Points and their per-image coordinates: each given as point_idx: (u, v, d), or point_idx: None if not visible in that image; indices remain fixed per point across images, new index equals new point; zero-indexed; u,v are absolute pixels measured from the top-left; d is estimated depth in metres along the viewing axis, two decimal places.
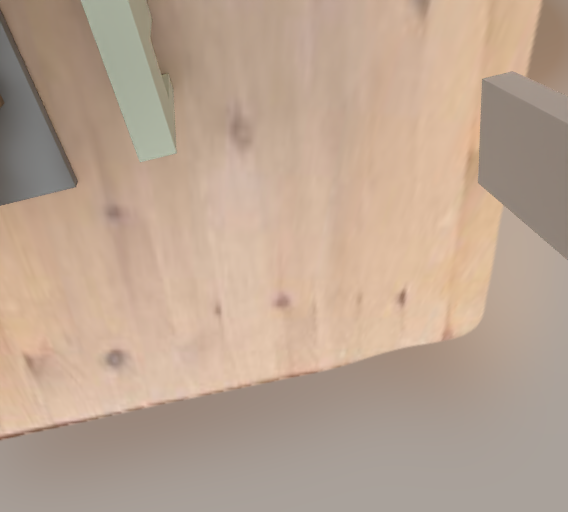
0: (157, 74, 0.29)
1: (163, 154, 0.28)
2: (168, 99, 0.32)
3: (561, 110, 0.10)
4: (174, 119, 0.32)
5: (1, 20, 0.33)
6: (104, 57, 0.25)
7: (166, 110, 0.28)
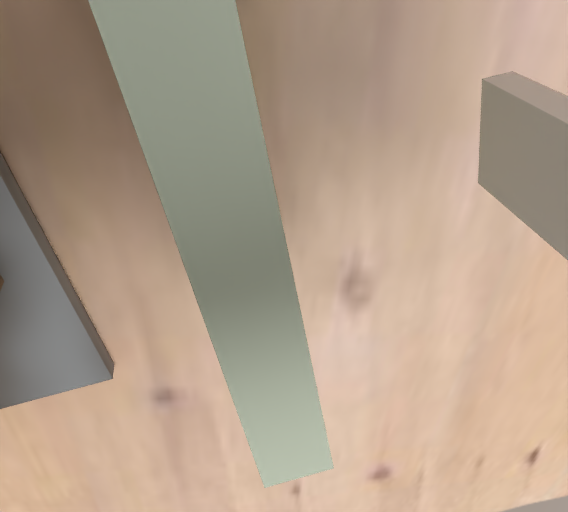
0: None
1: (309, 472, 0.15)
2: None
3: (561, 110, 0.10)
4: None
5: None
6: (222, 352, 0.11)
7: None
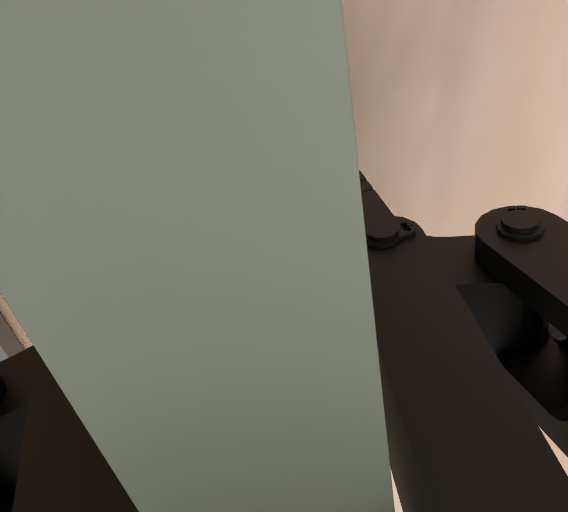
0: None
1: None
2: None
3: None
4: None
5: None
6: None
7: None
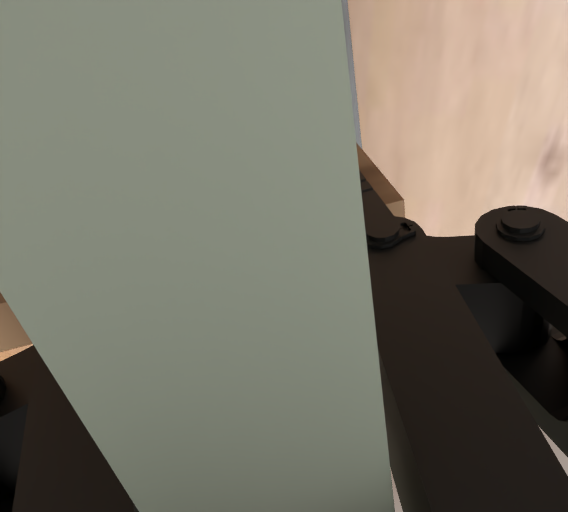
0: None
1: None
2: None
3: None
4: None
5: None
6: None
7: None
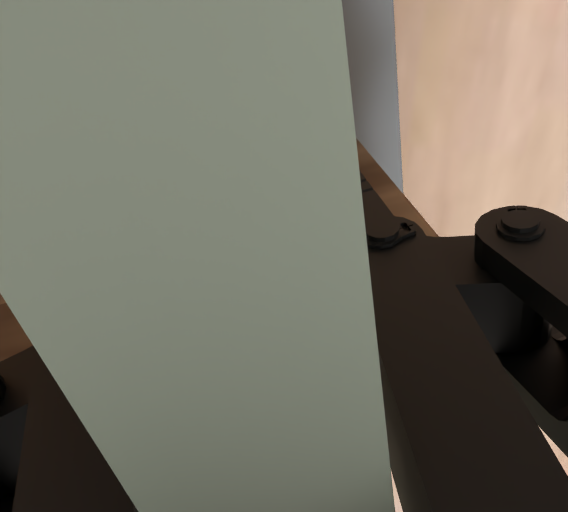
0: None
1: None
2: None
3: None
4: None
5: None
6: None
7: None
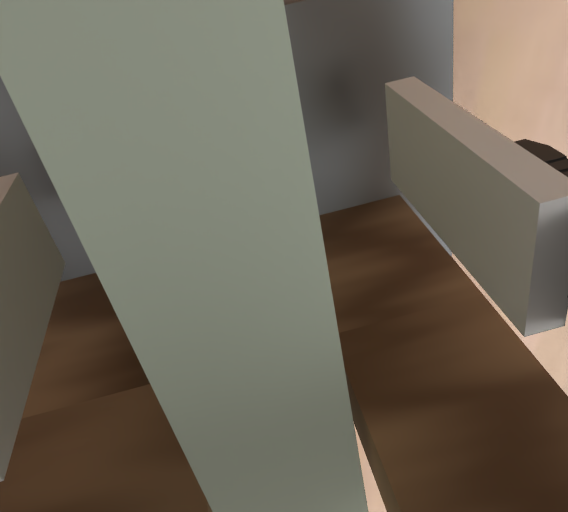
0: None
1: None
2: None
3: (438, 113, 0.11)
4: None
5: None
6: None
7: None
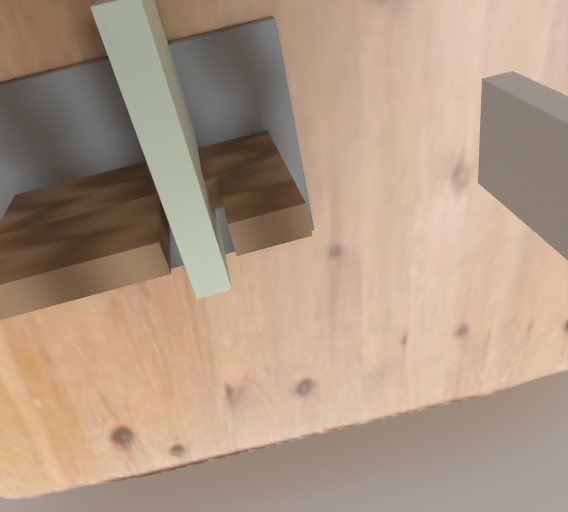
0: (211, 211, 0.30)
1: (219, 291, 0.29)
2: (217, 224, 0.33)
3: (561, 110, 0.10)
4: (222, 241, 0.33)
5: None
6: (168, 214, 0.26)
7: (220, 246, 0.30)
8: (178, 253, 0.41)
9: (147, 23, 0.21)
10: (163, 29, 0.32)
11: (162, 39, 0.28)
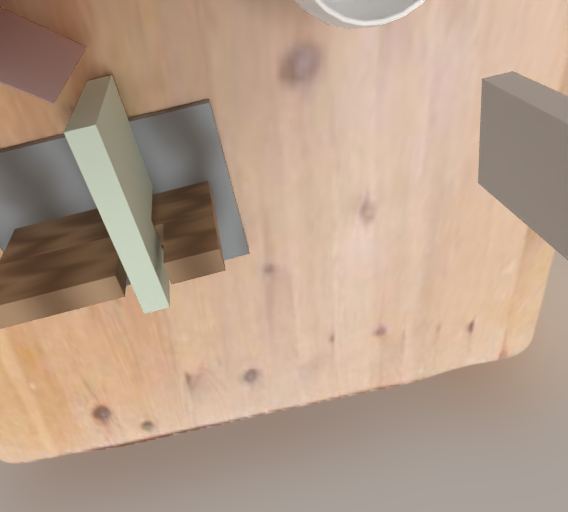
0: (156, 250, 0.41)
1: (160, 308, 0.41)
2: None
3: (561, 110, 0.10)
4: None
5: None
6: (121, 257, 0.37)
7: (162, 275, 0.41)
8: None
9: (101, 140, 0.33)
10: (124, 111, 0.44)
11: (120, 129, 0.40)
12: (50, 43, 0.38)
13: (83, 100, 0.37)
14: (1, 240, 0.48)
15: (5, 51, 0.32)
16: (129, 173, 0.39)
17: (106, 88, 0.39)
